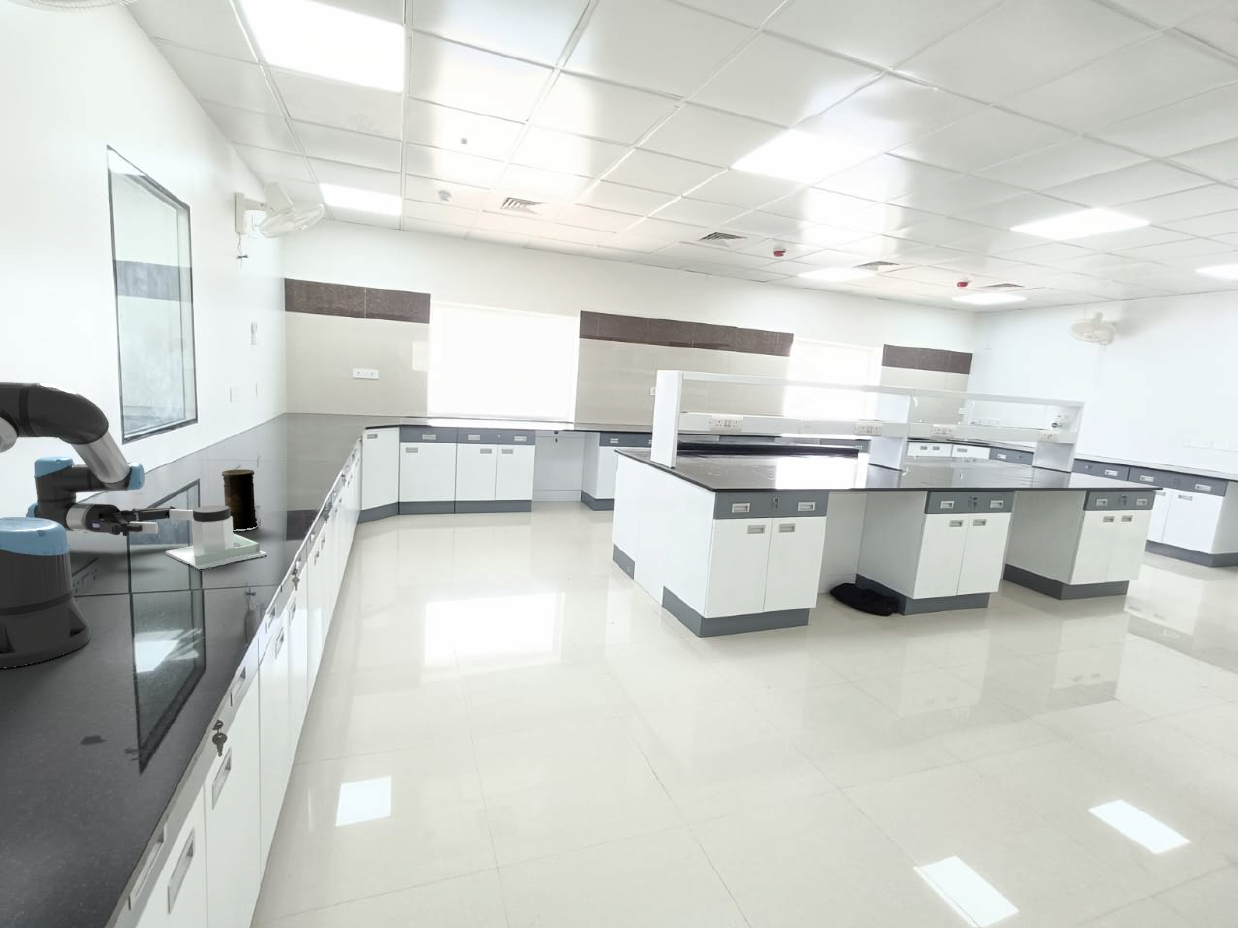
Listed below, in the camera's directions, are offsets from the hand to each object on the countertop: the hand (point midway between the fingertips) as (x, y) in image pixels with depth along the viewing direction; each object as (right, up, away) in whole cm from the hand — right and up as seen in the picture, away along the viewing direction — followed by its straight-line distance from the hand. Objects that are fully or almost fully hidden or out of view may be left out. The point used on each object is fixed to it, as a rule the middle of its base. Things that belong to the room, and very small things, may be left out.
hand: (176, 521), depth 157 cm
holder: (+10, -9, +1) cm, 13 cm away
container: (0, -5, +27) cm, 27 cm away
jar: (+10, -9, +1) cm, 13 cm away
